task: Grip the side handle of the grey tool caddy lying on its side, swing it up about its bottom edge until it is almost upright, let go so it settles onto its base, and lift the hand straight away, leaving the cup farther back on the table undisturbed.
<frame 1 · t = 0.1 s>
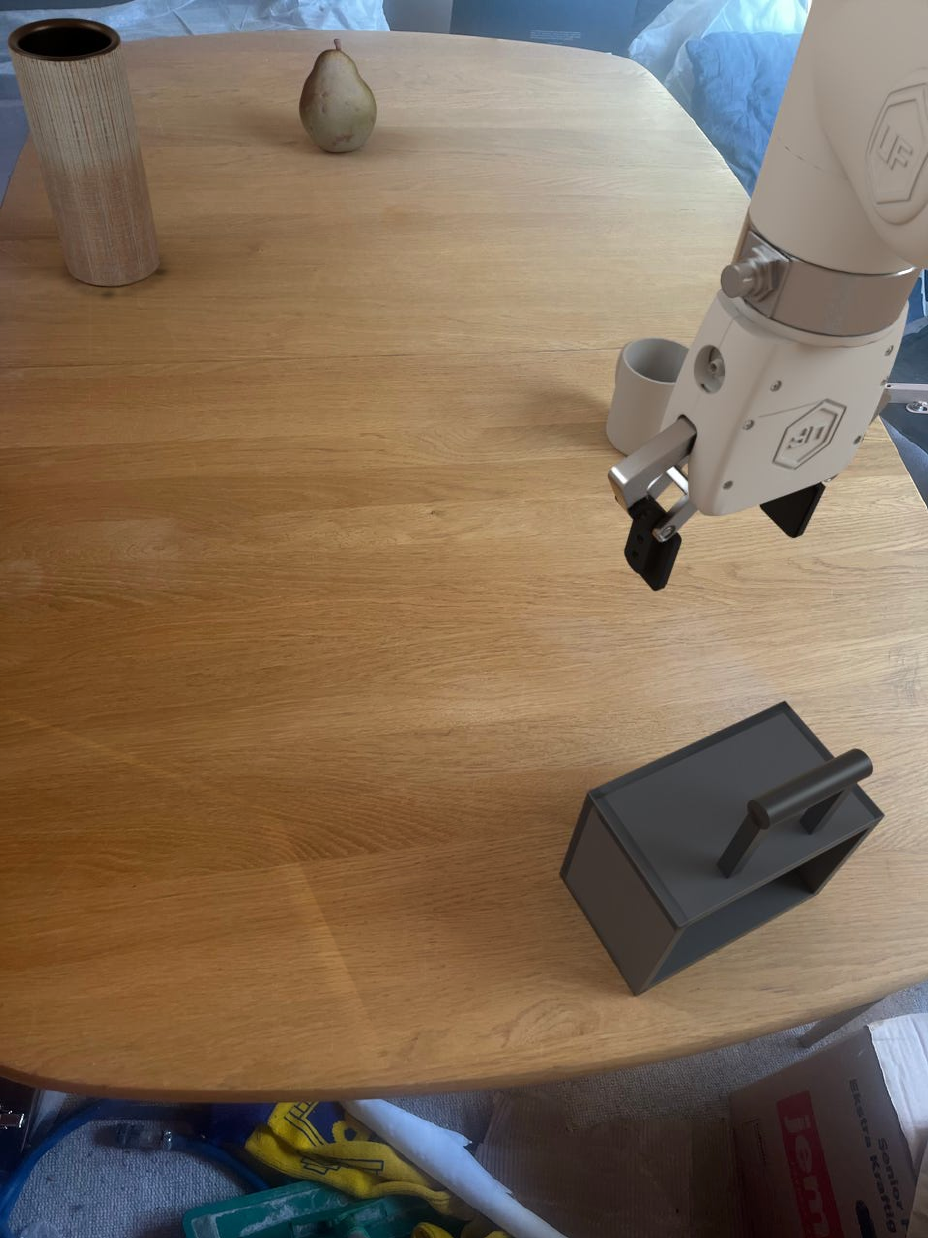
hand: (713, 546, 54), 21 cm above the table, tool pointing down, fingers open, 9 cm apart
fruit: (341, 147, 128), on the table
planter: (114, 264, 106), on the table
cup: (634, 430, 95), on the table
grey tool caddy: (727, 818, 57), point 9 cm above the table, hinge at -90.0°
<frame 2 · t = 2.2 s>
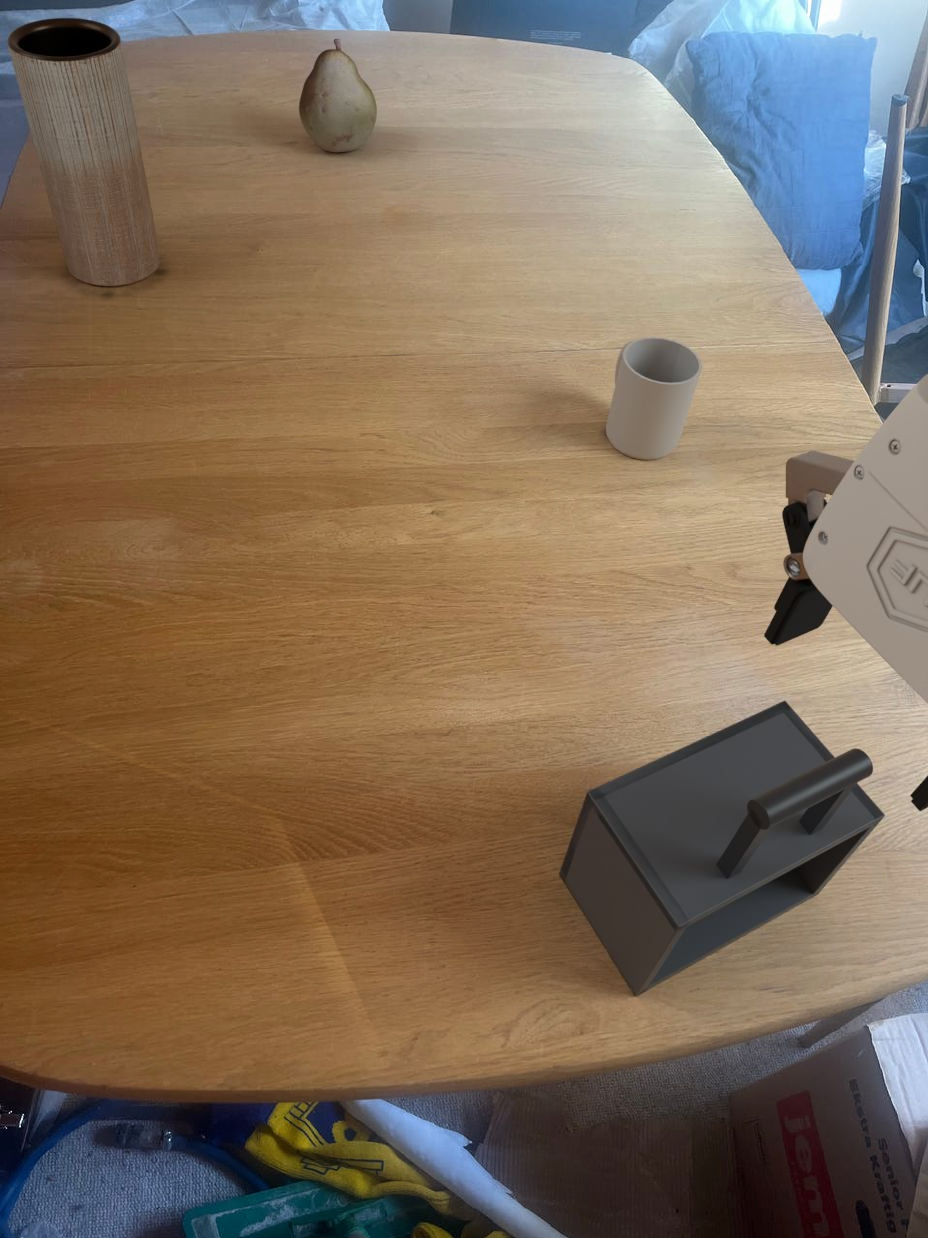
hand: (860, 708, 44), 24 cm above the table, tool pointing down, fingers open, 9 cm apart
nothing on the table moved.
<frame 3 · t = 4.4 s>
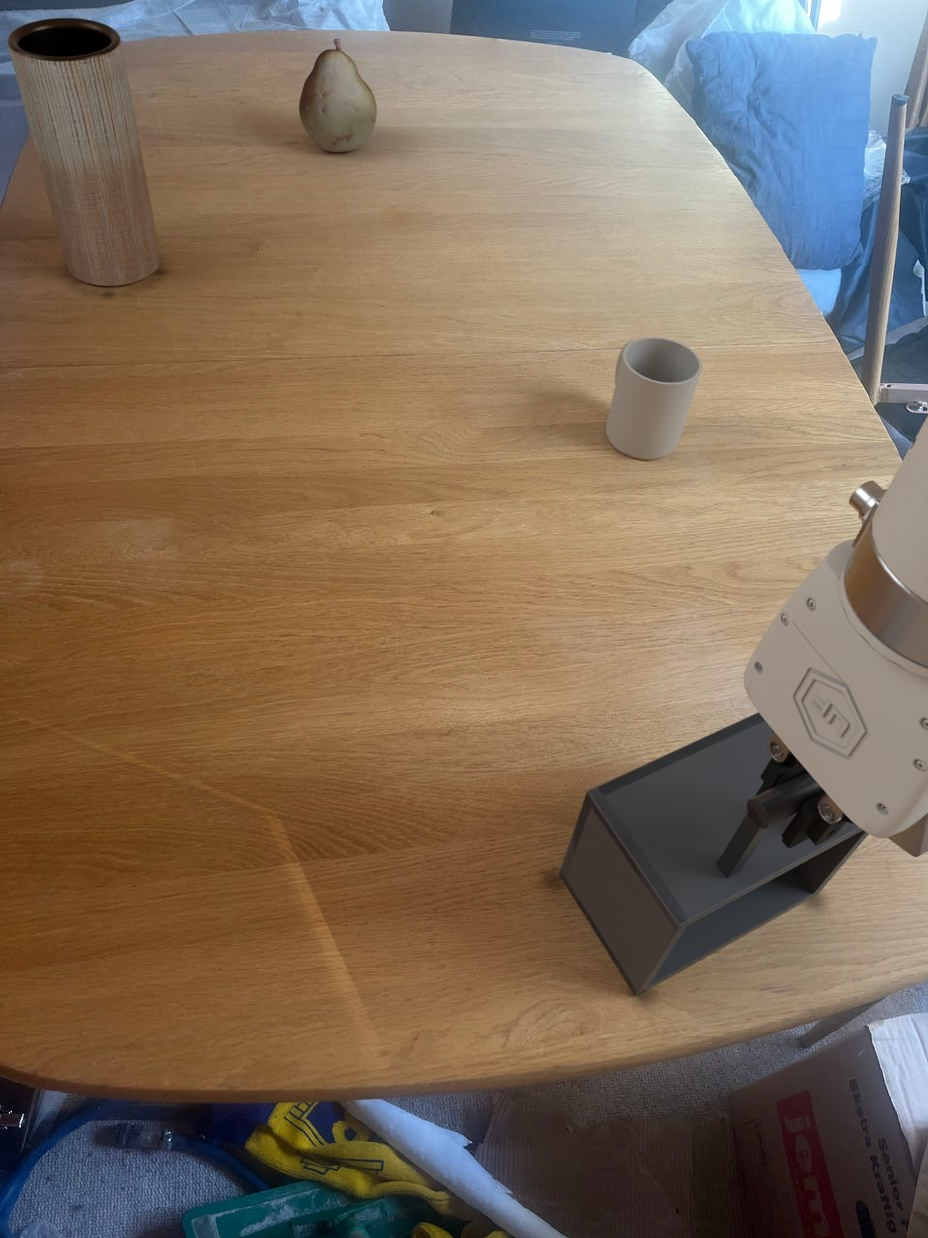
hand: (791, 814, 51), 15 cm above the table, tool pointing down, fingers closed on grey tool caddy
grey tool caddy: (727, 818, 57), point 9 cm above the table, hinge at -89.9°, touching gripper
everything else where it was.
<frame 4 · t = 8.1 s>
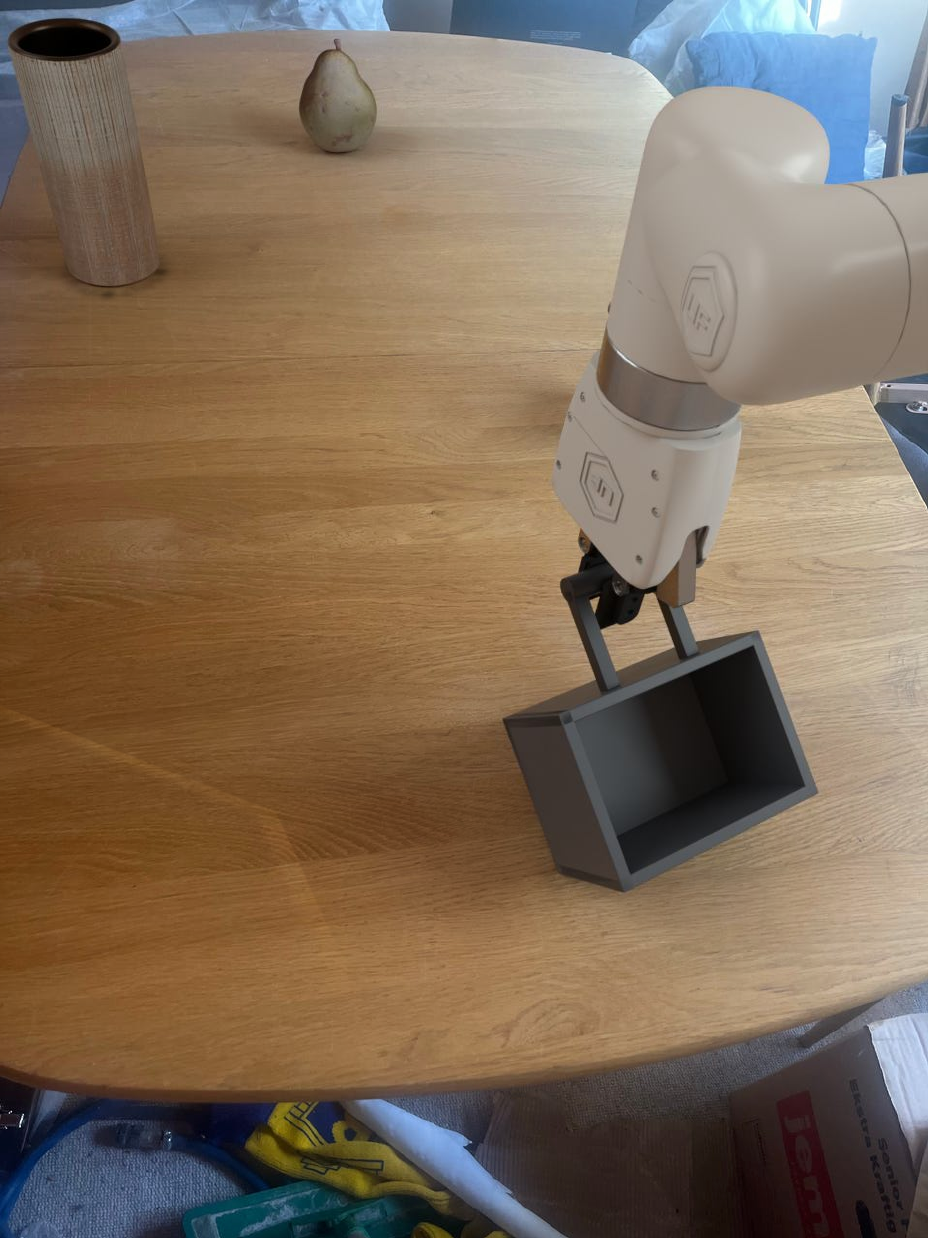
hand: (605, 605, 62), 13 cm above the table, tool pointing down, fingers closed on grey tool caddy
grey tool caddy: (636, 702, 62), point 9 cm above the table, hinge at -34.8°, touching gripper
everything else where it was.
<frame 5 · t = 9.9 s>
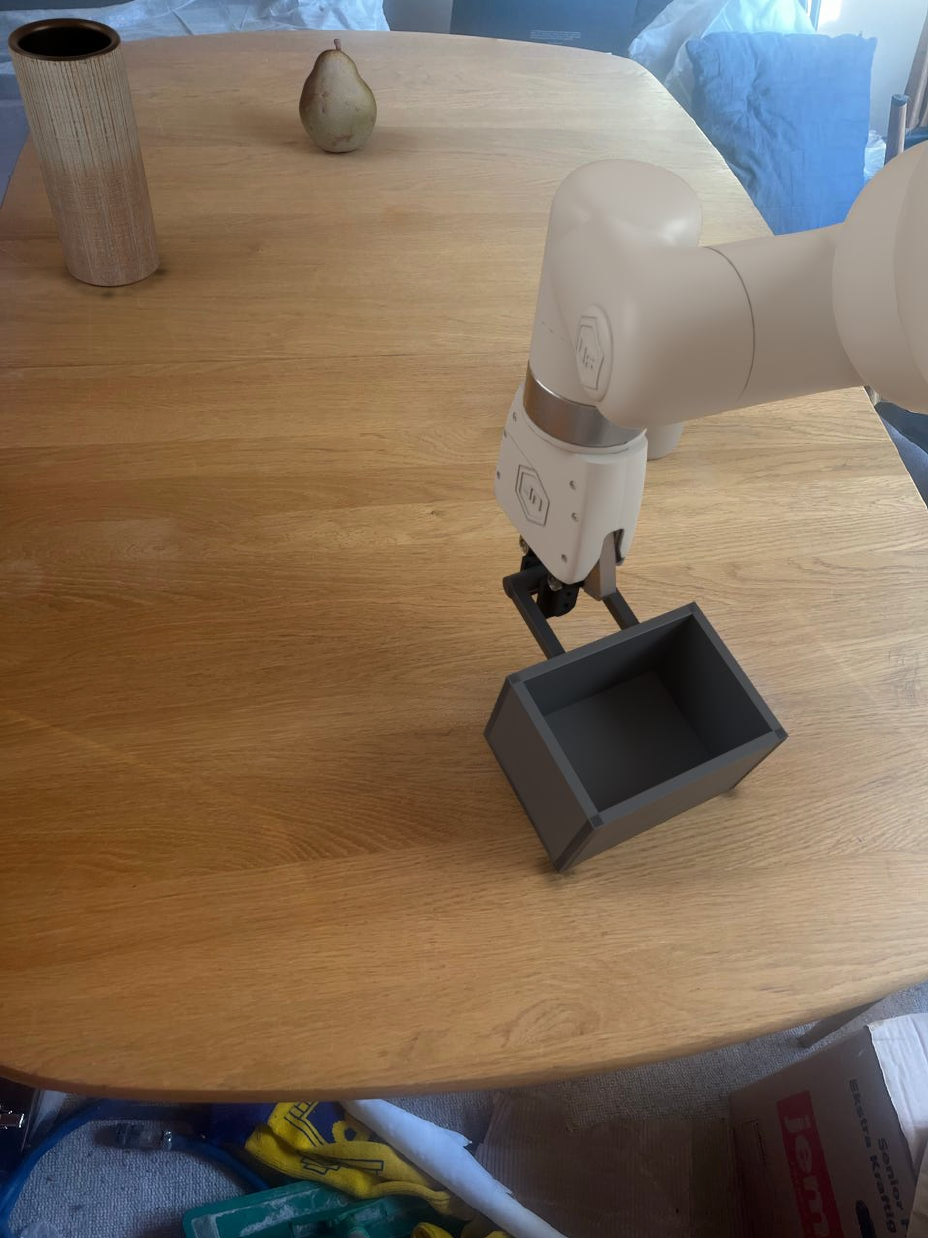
hand: (545, 600, 69), 7 cm above the table, tool pointing down, fingers closed on grey tool caddy
grey tool caddy: (600, 690, 66), point 6 cm above the table, hinge at -9.6°, touching gripper
everything else where it was.
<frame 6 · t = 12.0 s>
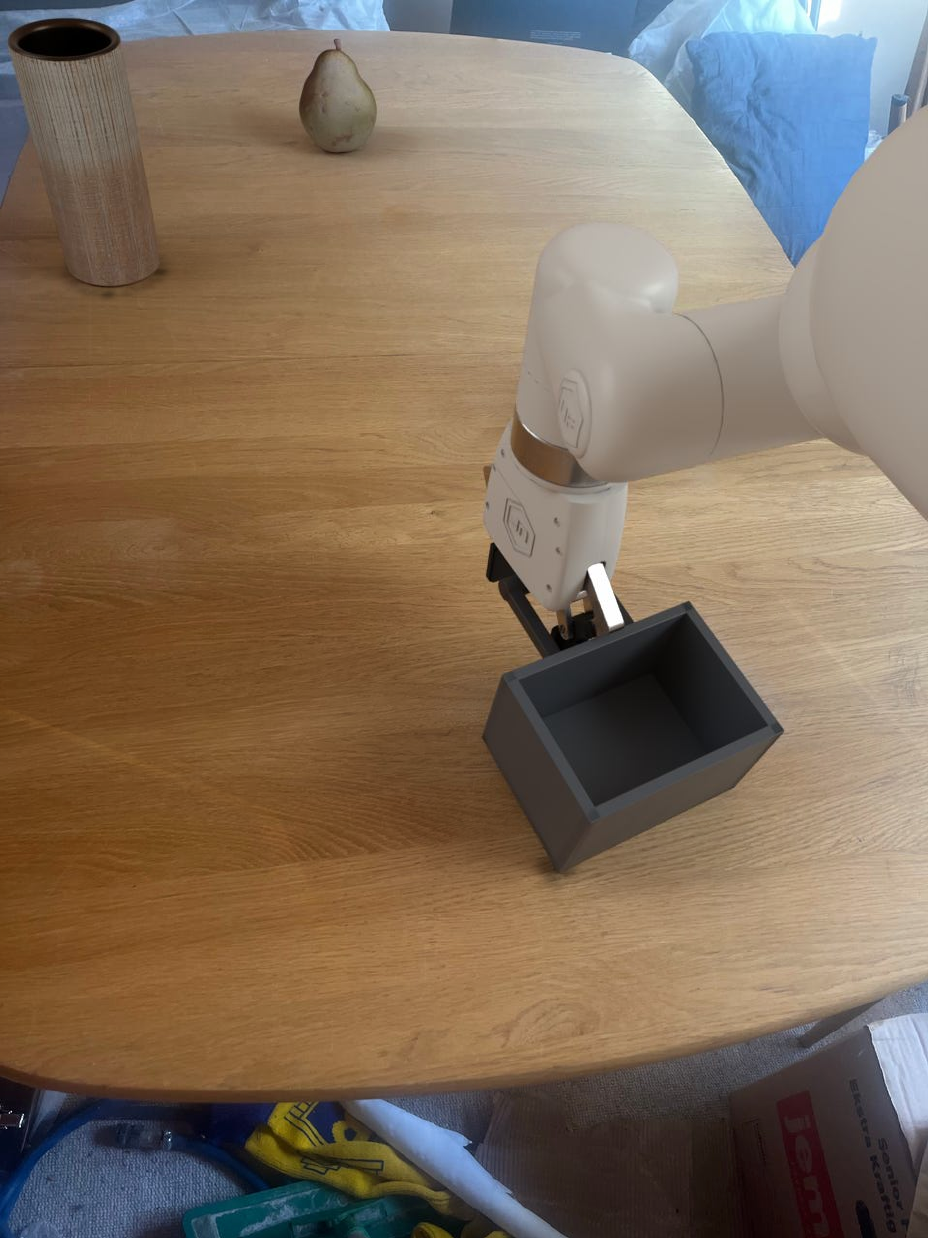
hand: (533, 614, 72), 5 cm above the table, tool pointing down, fingers open, 8 cm apart
grey tool caddy: (597, 690, 67), point 6 cm above the table, hinge at -7.0°, touching gripper
everything else where it was.
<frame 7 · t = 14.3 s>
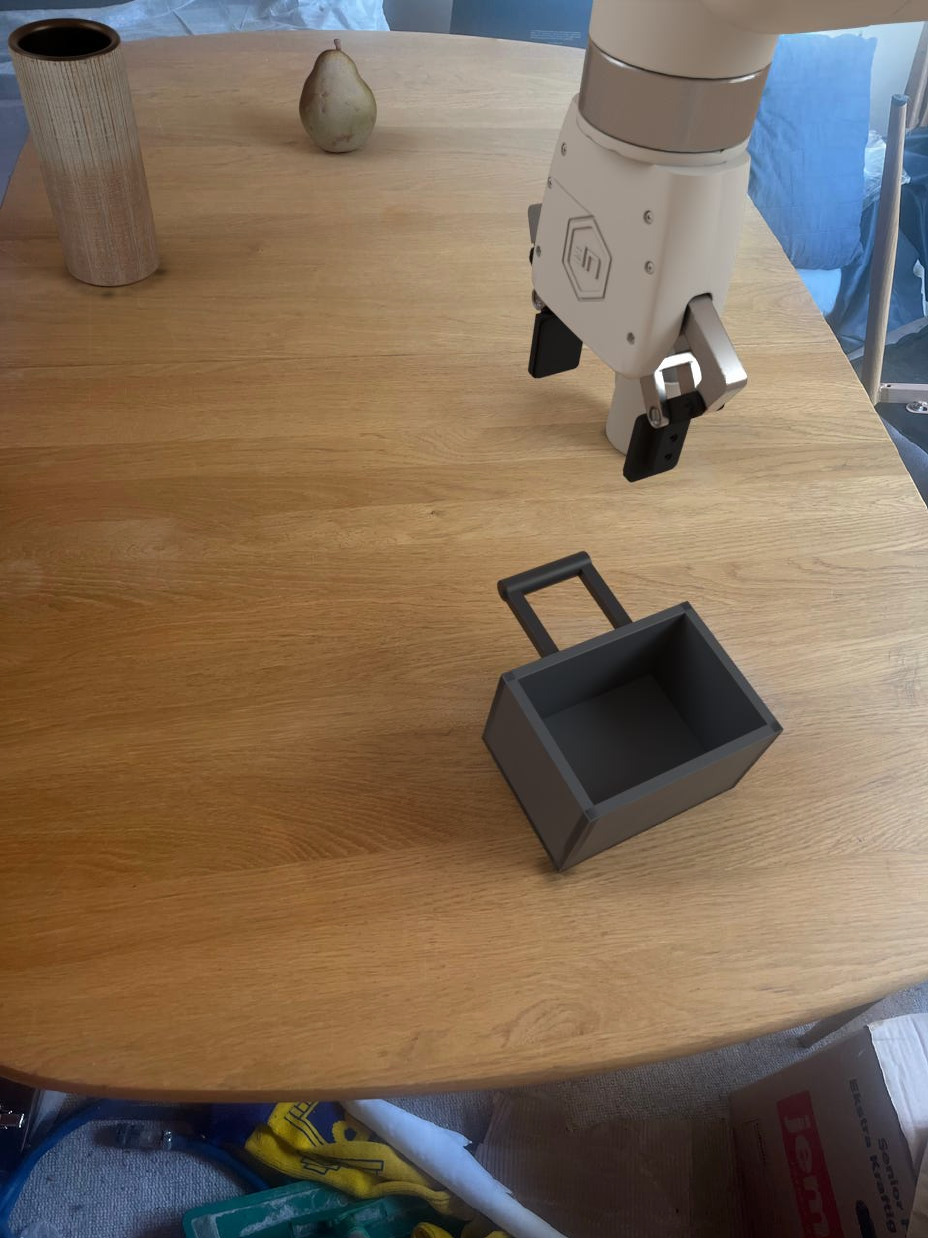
hand: (598, 419, 53), 26 cm above the table, tool pointing down, fingers open, 9 cm apart
grey tool caddy: (596, 691, 67), point 5 cm above the table, hinge at -6.3°
everything else where it was.
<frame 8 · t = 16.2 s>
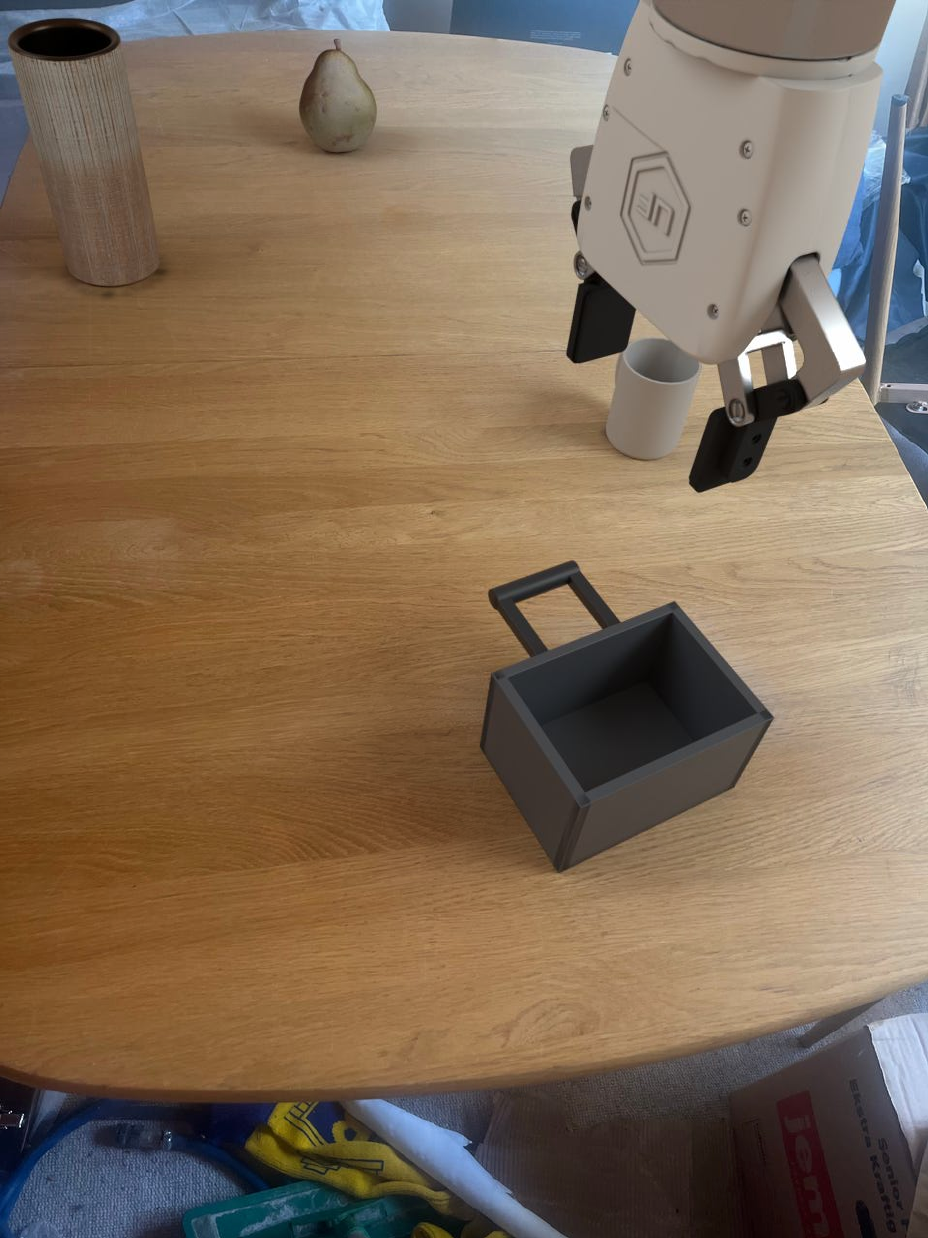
hand: (654, 413, 44), 32 cm above the table, tool pointing down, fingers open, 9 cm apart
grey tool caddy: (589, 693, 68), point 4 cm above the table, hinge at 0.0°
everything else where it was.
at the end: grey tool caddy at +0° (first picture: -90°); cup moved 0.2 cm from its start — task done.
